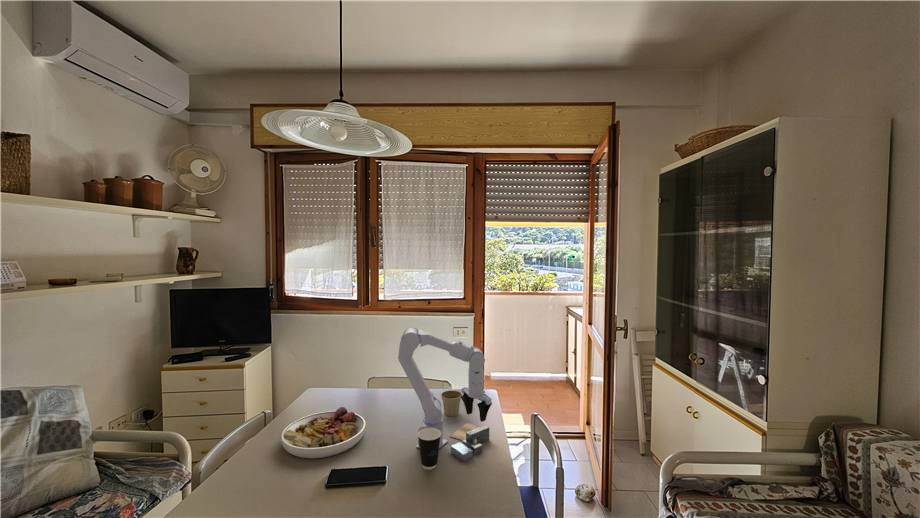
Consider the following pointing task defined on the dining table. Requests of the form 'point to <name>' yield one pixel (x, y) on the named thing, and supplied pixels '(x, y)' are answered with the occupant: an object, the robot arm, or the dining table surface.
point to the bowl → (323, 433)
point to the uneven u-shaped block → (481, 437)
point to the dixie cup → (429, 447)
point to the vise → (462, 451)
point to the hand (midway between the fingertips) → (476, 417)
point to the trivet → (463, 431)
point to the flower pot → (451, 402)
